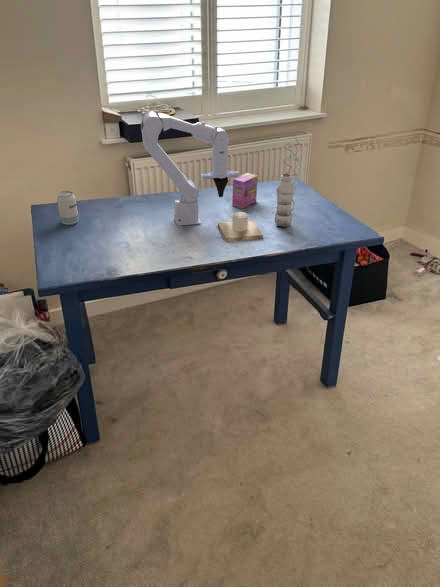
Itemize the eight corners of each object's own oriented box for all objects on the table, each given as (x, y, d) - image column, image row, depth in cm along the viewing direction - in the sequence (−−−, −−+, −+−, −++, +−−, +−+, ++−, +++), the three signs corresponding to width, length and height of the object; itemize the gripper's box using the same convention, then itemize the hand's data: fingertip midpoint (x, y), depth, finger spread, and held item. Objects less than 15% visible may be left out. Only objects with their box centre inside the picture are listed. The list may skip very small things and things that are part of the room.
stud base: (225, 241, 184) (225, 227, 181) (217, 226, 196) (217, 212, 193) (262, 238, 186) (263, 224, 184) (252, 223, 198) (253, 210, 195)
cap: (234, 232, 187) (234, 218, 185) (231, 226, 192) (231, 212, 189) (248, 230, 188) (249, 217, 186) (245, 225, 193) (245, 211, 190)
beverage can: (72, 227, 193) (68, 197, 187) (57, 225, 195) (52, 195, 189) (82, 220, 199) (78, 191, 193) (67, 218, 201) (62, 189, 194)
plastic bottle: (290, 229, 193) (295, 178, 183) (273, 227, 195) (276, 177, 184) (292, 222, 199) (296, 173, 188) (275, 221, 200) (278, 172, 190)
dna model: (294, 215, 205) (301, 140, 190) (278, 214, 206) (284, 139, 191) (294, 209, 211) (301, 136, 195) (279, 208, 212) (284, 135, 196)
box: (242, 208, 211) (243, 181, 205) (231, 205, 214) (232, 178, 208) (256, 201, 218) (258, 175, 212) (245, 198, 221) (246, 172, 215)
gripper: (203, 166, 185) (204, 201, 192) (241, 163, 188) (241, 198, 195) (199, 160, 191) (200, 195, 198) (237, 158, 194) (236, 192, 201)
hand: (220, 196), depth 197 cm, fingers closed
